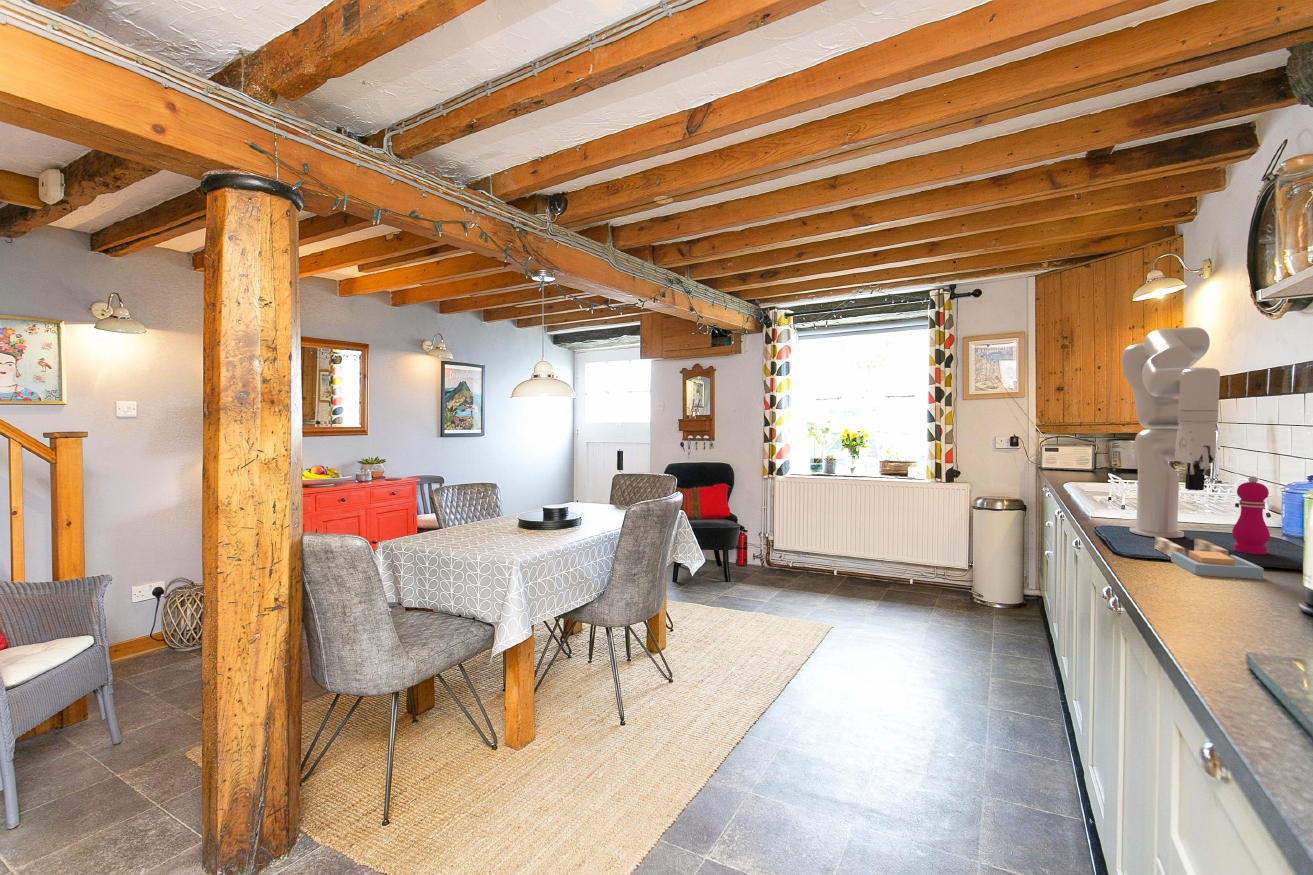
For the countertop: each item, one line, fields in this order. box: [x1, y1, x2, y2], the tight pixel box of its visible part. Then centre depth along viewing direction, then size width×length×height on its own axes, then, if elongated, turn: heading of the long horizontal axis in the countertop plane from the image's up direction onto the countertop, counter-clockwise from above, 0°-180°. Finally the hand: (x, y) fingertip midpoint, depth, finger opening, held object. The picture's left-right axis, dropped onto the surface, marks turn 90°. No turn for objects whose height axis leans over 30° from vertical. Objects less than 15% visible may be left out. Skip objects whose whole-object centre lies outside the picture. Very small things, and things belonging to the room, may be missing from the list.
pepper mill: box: [1231, 475, 1271, 555], centre depth 160 cm, size 7×7×20 cm
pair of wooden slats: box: [1154, 537, 1230, 557], centre depth 157 cm, size 13×10×4 cm
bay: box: [1170, 552, 1265, 580], centre depth 145 cm, size 12×12×2 cm
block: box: [1188, 550, 1235, 565], centre depth 145 cm, size 7×6×4 cm
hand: (1194, 489), depth 155 cm, fingers closed
